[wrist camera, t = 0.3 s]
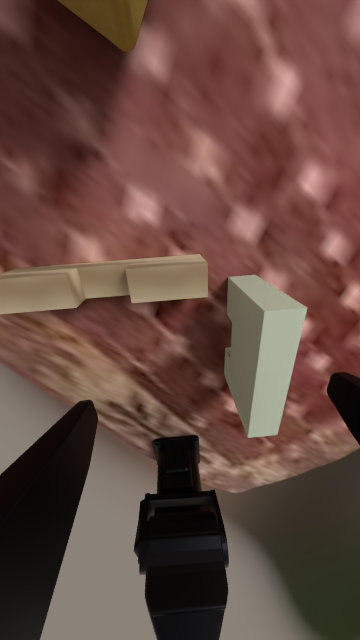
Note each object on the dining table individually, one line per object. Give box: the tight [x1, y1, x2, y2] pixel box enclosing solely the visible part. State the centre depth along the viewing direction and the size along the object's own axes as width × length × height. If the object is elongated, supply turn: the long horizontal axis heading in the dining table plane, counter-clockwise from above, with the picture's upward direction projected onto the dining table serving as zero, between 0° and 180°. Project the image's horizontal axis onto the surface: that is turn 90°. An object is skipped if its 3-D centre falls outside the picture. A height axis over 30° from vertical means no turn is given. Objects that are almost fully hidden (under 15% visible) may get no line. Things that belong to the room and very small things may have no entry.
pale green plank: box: [224, 275, 307, 438], centre depth 18 cm, size 12×3×8 cm, turn 4°
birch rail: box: [0, 254, 208, 314], centre depth 17 cm, size 3×16×4 cm, turn 94°
